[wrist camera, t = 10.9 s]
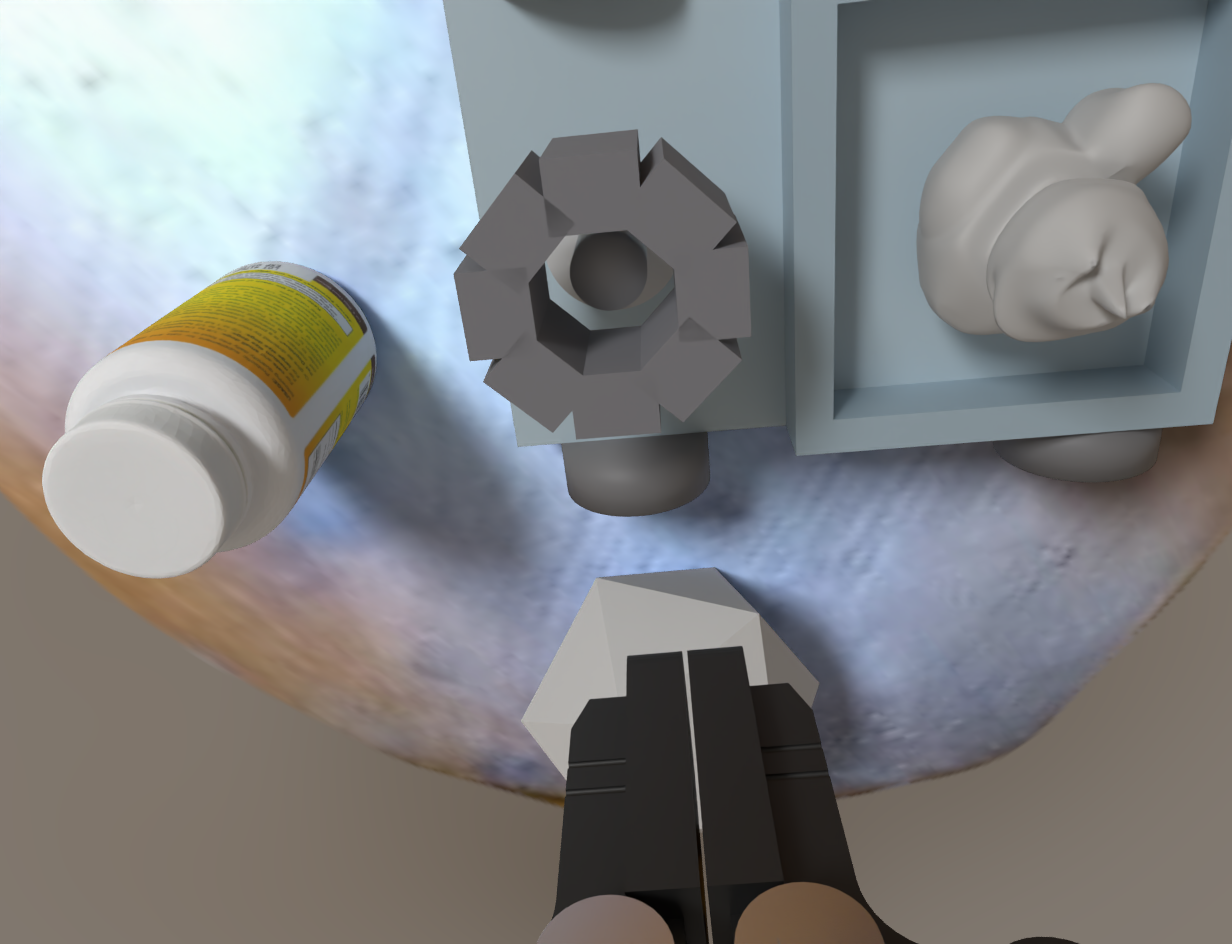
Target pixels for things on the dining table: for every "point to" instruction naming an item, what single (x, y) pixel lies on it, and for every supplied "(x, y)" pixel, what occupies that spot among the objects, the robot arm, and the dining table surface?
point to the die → (653, 647)
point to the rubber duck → (1050, 217)
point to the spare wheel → (617, 357)
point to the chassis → (861, 215)
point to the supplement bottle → (210, 421)
